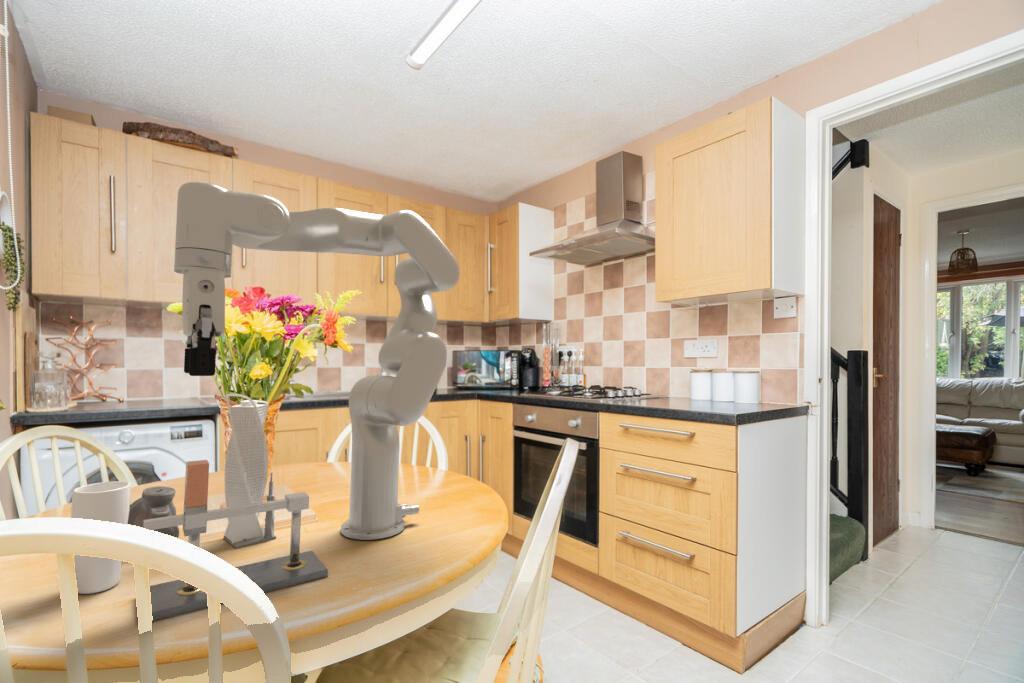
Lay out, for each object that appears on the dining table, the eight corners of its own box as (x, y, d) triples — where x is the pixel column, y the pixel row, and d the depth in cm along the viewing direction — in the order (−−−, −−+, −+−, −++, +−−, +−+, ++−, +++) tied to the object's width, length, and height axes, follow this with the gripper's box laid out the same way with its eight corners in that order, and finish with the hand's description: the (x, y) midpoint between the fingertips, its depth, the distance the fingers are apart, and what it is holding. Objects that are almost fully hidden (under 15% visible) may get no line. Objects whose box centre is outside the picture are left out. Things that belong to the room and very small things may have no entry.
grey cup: (137, 577, 75) (142, 481, 76) (101, 598, 69) (107, 493, 69) (93, 576, 75) (98, 480, 76) (53, 598, 68) (59, 492, 69)
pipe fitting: (118, 537, 90) (128, 483, 90) (170, 531, 95) (179, 480, 95) (125, 566, 81) (136, 506, 81) (181, 557, 87) (191, 501, 87)
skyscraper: (227, 550, 86) (234, 395, 87) (213, 538, 92) (219, 392, 93) (275, 538, 92) (281, 393, 93) (259, 527, 98) (265, 390, 99)
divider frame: (301, 559, 80) (304, 491, 81) (306, 566, 78) (309, 496, 78) (139, 596, 67) (143, 515, 68) (139, 605, 65) (143, 521, 65)
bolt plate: (311, 557, 84) (312, 549, 84) (327, 576, 77) (327, 567, 77) (139, 596, 70) (139, 586, 70) (139, 624, 62) (139, 614, 62)
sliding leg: (201, 577, 72) (206, 459, 72) (203, 587, 69) (209, 463, 70) (180, 582, 70) (185, 461, 71) (182, 592, 67) (187, 466, 68)
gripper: (240, 260, 70) (235, 376, 70) (223, 274, 84) (219, 372, 83) (178, 252, 66) (172, 377, 65) (171, 269, 79) (166, 372, 79)
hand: (198, 374), depth 74 cm, fingers open, 9 cm apart
